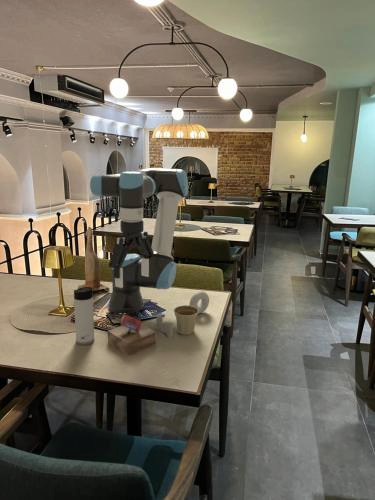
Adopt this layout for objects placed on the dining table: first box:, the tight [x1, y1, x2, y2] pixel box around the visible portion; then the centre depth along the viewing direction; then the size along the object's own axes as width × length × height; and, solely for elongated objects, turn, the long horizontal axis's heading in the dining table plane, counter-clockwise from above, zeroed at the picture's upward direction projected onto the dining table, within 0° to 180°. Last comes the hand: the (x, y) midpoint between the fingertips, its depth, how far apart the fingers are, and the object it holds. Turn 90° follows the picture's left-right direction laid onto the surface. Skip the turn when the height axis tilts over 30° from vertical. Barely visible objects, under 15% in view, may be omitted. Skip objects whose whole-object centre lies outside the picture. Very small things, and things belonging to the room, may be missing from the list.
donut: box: [188, 290, 210, 315], centre depth 155 cm, size 10×4×10 cm, turn 129°
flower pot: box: [173, 305, 199, 336], centre depth 139 cm, size 9×9×9 cm
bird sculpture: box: [77, 226, 110, 292], centre depth 175 cm, size 11×12×32 cm
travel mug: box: [73, 287, 95, 346], centre depth 128 cm, size 6×7×20 cm
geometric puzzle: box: [120, 312, 144, 334], centre depth 128 cm, size 7×7×8 cm
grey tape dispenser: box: [155, 314, 174, 339], centre depth 139 cm, size 6×1×10 cm
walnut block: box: [107, 324, 157, 357], centre depth 130 cm, size 12×12×5 cm
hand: (132, 281), depth 126 cm, fingers open, 13 cm apart
